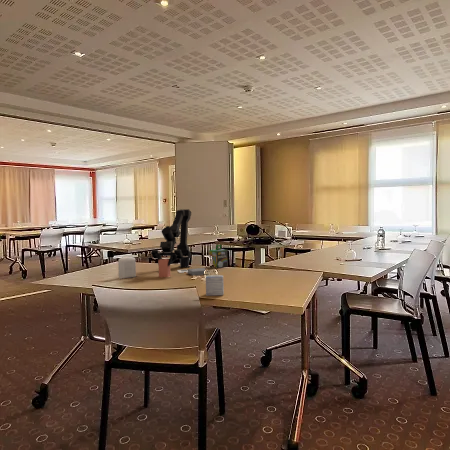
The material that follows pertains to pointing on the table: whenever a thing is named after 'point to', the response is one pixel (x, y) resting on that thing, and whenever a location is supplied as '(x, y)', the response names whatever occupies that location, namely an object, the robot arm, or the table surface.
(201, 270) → the base brick
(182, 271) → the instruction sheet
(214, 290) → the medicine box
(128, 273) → the photo printer
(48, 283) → the table surface
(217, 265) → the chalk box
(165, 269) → the red block
